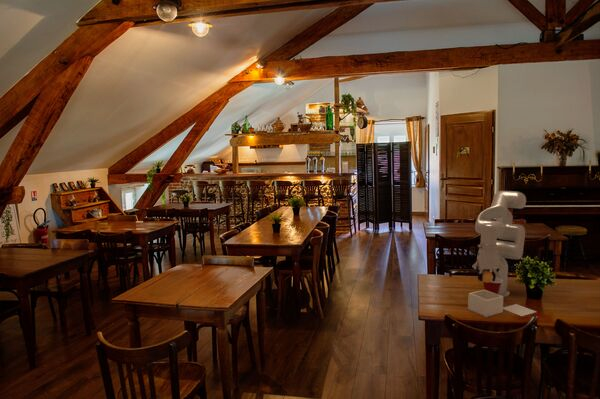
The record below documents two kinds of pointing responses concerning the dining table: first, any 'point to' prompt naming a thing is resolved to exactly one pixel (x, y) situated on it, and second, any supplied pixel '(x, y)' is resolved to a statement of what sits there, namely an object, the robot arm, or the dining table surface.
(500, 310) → the white open box
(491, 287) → the plastic cup
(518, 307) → the mat
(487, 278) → the ball
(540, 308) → the dining table surface
